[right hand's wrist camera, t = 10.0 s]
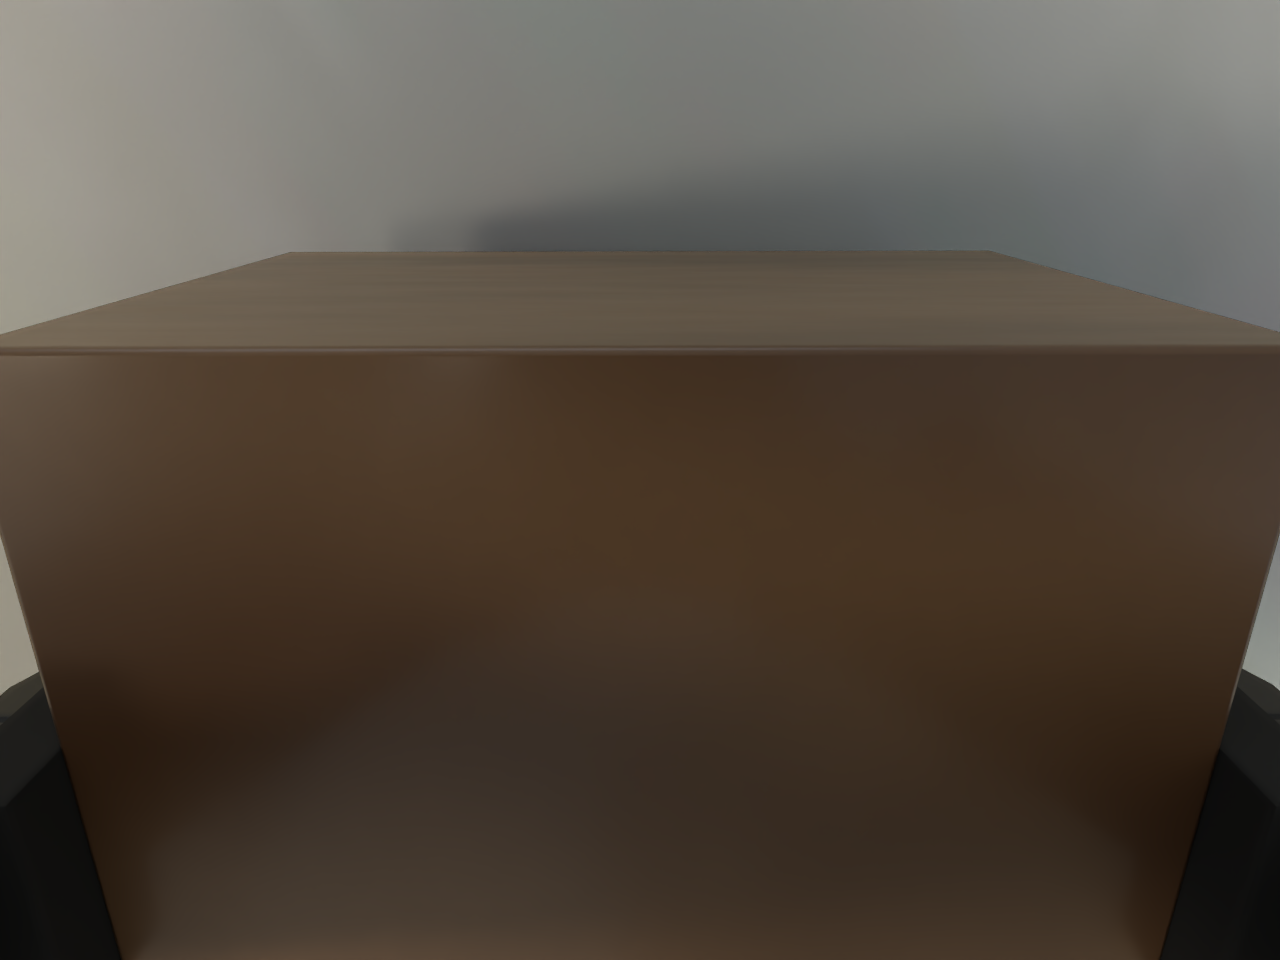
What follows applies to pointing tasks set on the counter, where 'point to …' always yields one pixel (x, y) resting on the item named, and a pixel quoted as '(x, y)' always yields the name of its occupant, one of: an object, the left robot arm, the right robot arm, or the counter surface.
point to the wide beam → (640, 601)
